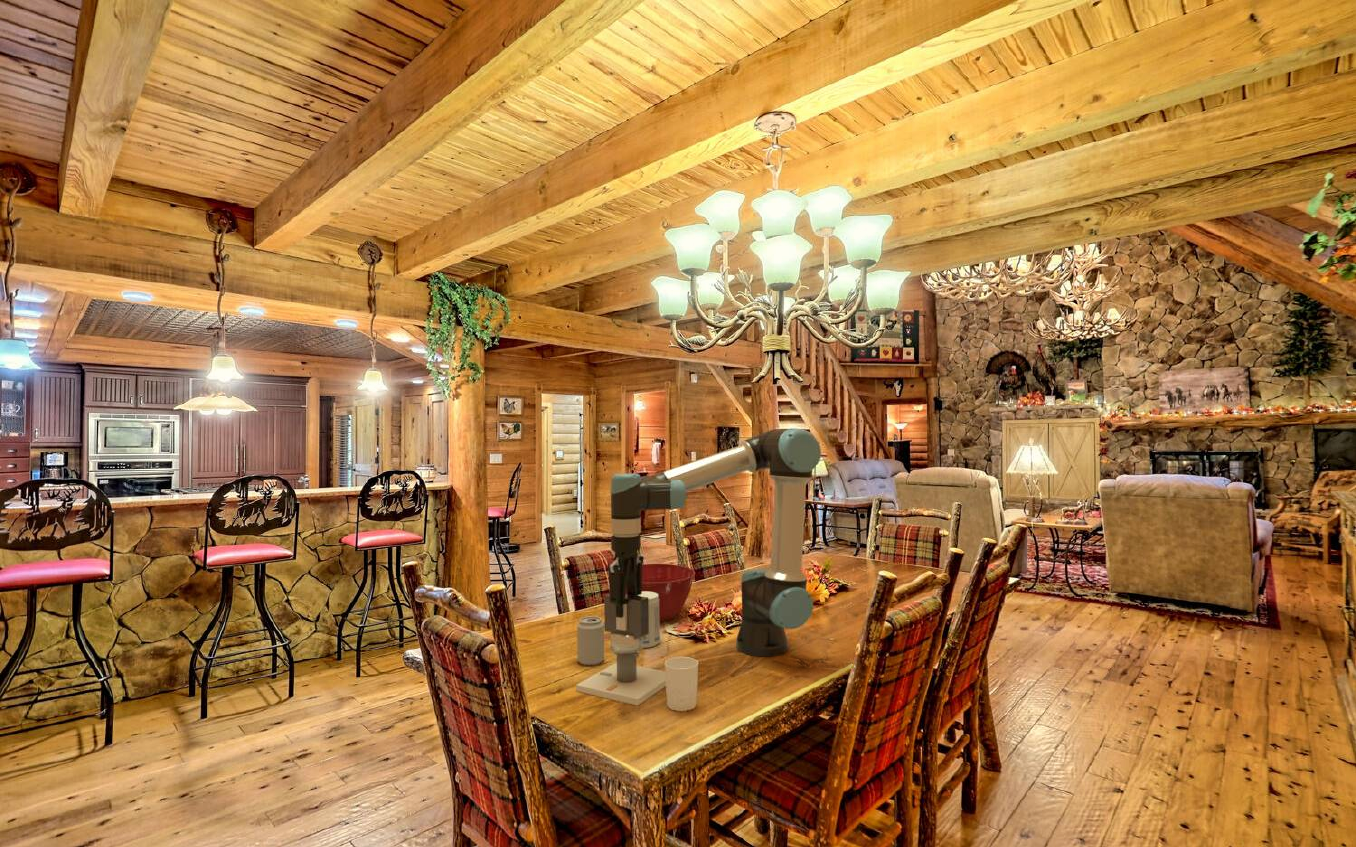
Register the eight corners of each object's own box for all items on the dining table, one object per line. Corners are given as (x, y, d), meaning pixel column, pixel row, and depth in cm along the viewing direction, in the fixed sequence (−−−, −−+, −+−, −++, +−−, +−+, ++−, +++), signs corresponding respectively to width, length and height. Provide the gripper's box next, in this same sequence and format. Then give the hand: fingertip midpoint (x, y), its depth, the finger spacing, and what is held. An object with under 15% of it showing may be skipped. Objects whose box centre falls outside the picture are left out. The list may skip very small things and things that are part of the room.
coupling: (653, 646, 161) (653, 595, 161) (636, 656, 154) (636, 602, 154) (614, 639, 167) (614, 590, 167) (596, 648, 160) (596, 597, 160)
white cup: (674, 715, 142) (674, 671, 142) (659, 702, 149) (658, 660, 149) (704, 708, 146) (704, 664, 146) (688, 696, 153) (688, 654, 153)
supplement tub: (647, 636, 198) (647, 589, 198) (666, 644, 191) (666, 595, 191) (621, 643, 192) (621, 594, 192) (640, 651, 185) (640, 600, 185)
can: (608, 658, 179) (608, 616, 179) (596, 668, 172) (596, 623, 172) (585, 655, 181) (584, 613, 181) (572, 665, 174) (572, 621, 174)
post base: (675, 679, 163) (674, 644, 163) (637, 705, 148) (637, 667, 148) (617, 667, 172) (617, 634, 172) (576, 691, 156) (576, 654, 156)
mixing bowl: (685, 631, 203) (685, 583, 203) (601, 625, 210) (601, 579, 210) (702, 607, 230) (702, 565, 231) (627, 603, 237) (627, 562, 237)
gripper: (631, 529, 170) (632, 616, 169) (594, 538, 155) (594, 634, 155) (655, 531, 166) (656, 620, 166) (619, 540, 151) (620, 639, 151)
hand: (626, 627), depth 160 cm, fingers closed on coupling, 4 cm apart
